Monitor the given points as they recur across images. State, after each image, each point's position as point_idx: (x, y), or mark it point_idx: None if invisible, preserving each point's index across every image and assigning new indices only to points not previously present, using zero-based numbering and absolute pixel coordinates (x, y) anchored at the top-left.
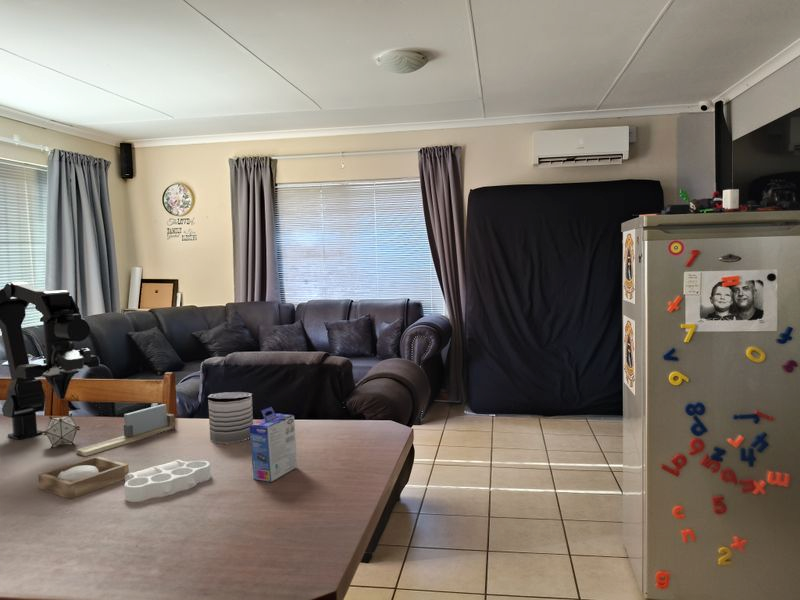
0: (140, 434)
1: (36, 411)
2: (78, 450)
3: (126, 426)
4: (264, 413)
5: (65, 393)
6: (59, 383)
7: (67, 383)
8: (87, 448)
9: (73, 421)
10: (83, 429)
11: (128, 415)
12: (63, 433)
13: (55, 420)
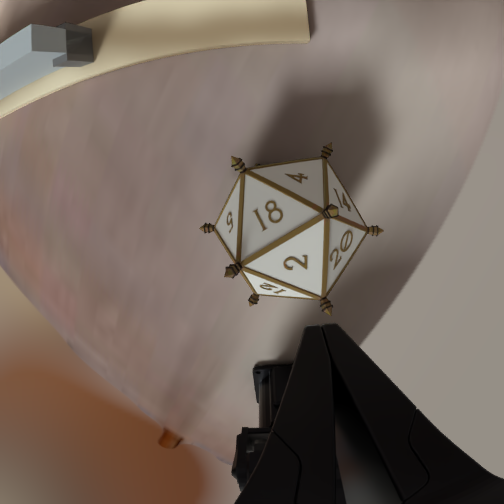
0: None
1: (264, 428)
2: (308, 25)
3: (68, 40)
4: None
5: (300, 358)
6: (420, 461)
7: (288, 463)
8: (272, 15)
9: (240, 217)
10: (155, 319)
11: (29, 27)
12: (314, 166)
13: (329, 255)
